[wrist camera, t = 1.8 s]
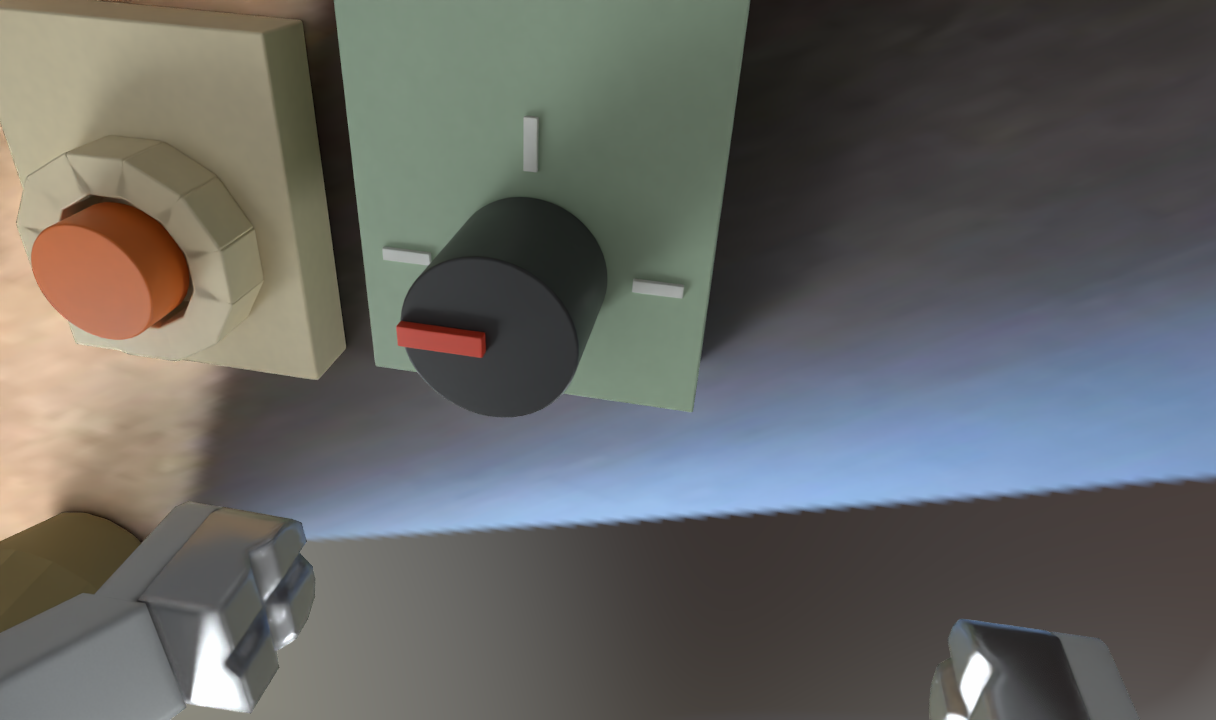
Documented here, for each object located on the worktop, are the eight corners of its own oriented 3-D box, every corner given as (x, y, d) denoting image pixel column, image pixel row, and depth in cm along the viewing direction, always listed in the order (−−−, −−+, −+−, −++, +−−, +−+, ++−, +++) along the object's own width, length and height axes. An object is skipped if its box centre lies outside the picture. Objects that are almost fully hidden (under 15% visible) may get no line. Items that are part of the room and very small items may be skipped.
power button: (60, 194, 23) (11, 216, 22) (175, 208, 23) (133, 232, 21) (95, 304, 25) (53, 332, 24) (201, 319, 25) (165, 348, 23)
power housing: (20, -8, 24) (-102, 13, 21) (303, 19, 23) (223, 45, 20) (117, 314, 30) (34, 371, 27) (347, 348, 29) (291, 411, 25)
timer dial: (612, 205, 21) (579, 276, 17) (603, 349, 23) (572, 437, 20) (451, 186, 22) (386, 251, 18) (458, 329, 24) (402, 411, 20)
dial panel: (378, -73, 21) (322, -65, 19) (756, -43, 20) (753, -30, 18) (411, 328, 28) (373, 377, 25) (699, 369, 27) (691, 424, 24)
